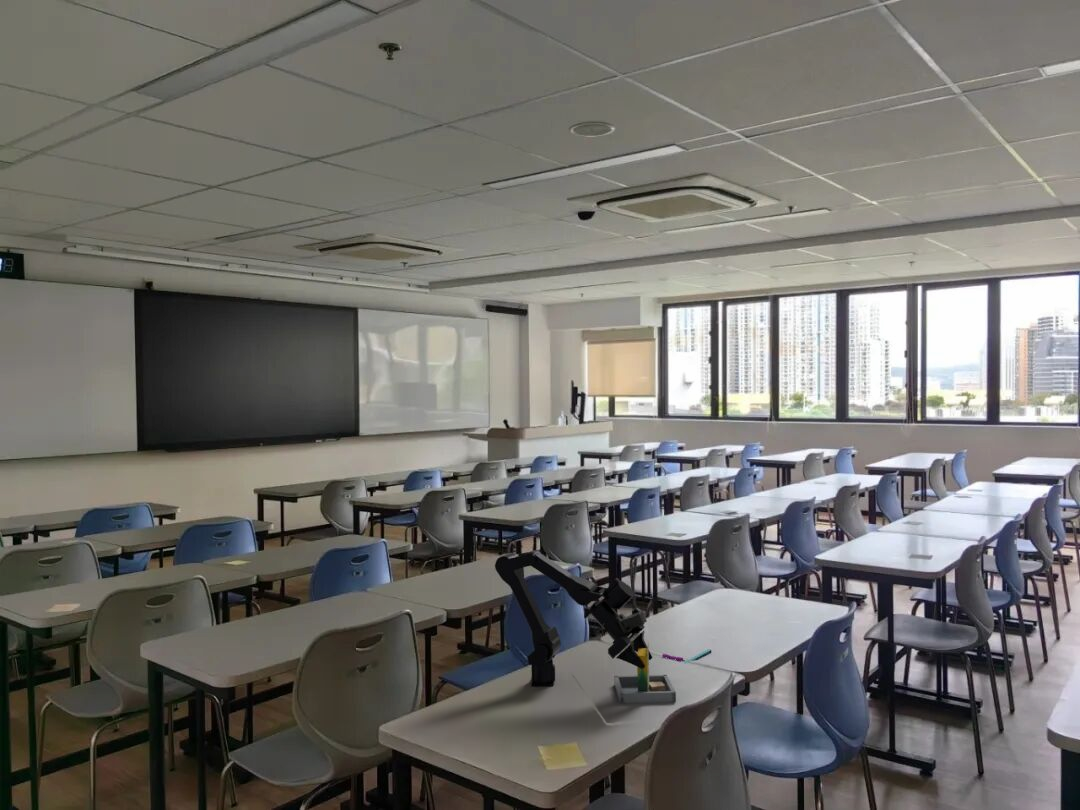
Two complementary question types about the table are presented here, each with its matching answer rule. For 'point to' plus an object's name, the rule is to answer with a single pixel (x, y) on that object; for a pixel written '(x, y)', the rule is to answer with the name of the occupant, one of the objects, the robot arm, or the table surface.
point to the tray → (630, 693)
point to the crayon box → (643, 670)
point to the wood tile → (657, 686)
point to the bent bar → (687, 659)
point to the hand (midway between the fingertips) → (647, 663)
